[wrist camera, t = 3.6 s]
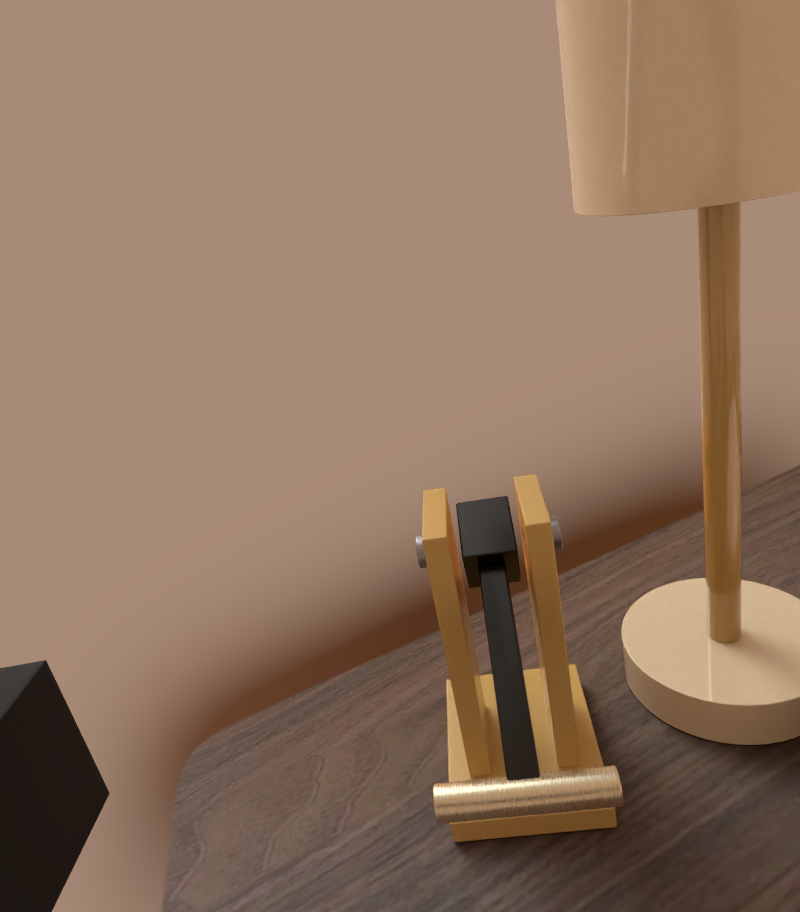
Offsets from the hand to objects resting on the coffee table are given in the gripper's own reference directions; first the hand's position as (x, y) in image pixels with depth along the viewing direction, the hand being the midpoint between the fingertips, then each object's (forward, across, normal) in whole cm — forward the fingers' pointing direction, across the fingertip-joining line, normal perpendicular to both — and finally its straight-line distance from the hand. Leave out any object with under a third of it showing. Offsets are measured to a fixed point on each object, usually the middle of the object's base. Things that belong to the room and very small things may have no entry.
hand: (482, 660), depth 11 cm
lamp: (+21, +12, -20) cm, 31 cm away
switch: (+14, +1, -11) cm, 18 cm away
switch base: (+18, 0, -20) cm, 27 cm away
